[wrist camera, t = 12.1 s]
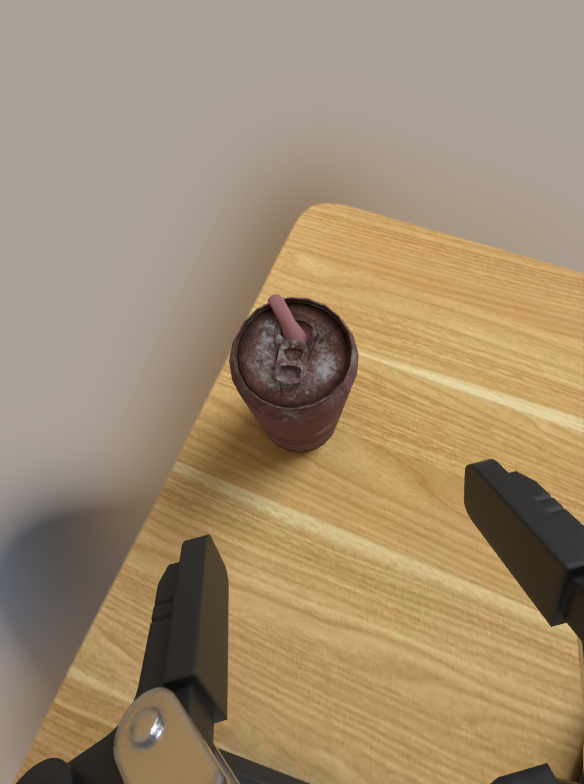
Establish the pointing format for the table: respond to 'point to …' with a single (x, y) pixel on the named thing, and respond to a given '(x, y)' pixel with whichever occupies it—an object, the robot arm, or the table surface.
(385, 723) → the table surface
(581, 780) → the hard drive
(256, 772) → the scale
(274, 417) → the can
